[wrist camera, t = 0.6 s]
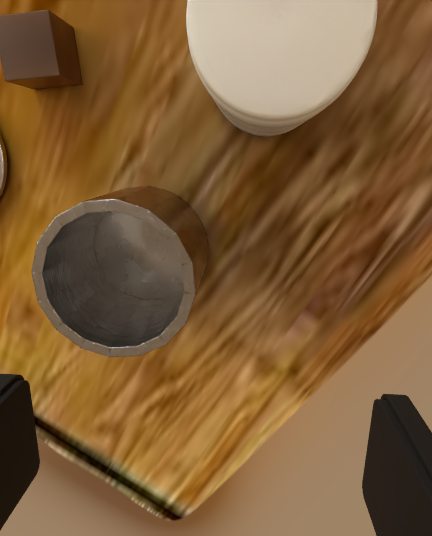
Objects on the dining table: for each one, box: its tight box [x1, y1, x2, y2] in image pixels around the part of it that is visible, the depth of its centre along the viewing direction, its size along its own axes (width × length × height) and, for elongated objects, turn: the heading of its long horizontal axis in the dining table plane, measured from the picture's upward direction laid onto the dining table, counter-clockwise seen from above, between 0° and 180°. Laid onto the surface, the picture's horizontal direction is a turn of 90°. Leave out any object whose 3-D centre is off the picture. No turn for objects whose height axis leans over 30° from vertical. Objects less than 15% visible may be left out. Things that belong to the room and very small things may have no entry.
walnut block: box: [0, 10, 82, 89], centre depth 32 cm, size 4×4×4 cm
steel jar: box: [32, 186, 209, 357], centre depth 33 cm, size 12×12×10 cm
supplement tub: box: [186, 0, 377, 136], centre depth 26 cm, size 10×10×15 cm
